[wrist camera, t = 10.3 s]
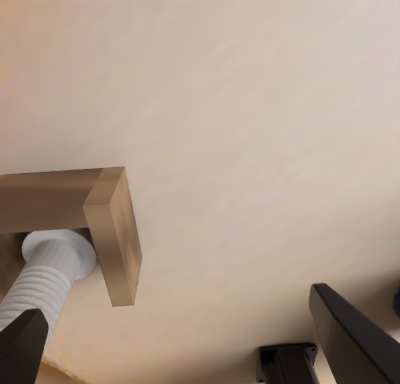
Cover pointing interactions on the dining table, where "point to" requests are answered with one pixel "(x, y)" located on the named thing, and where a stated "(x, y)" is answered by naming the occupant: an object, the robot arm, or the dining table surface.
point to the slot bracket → (73, 222)
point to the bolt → (49, 273)
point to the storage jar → (397, 302)
